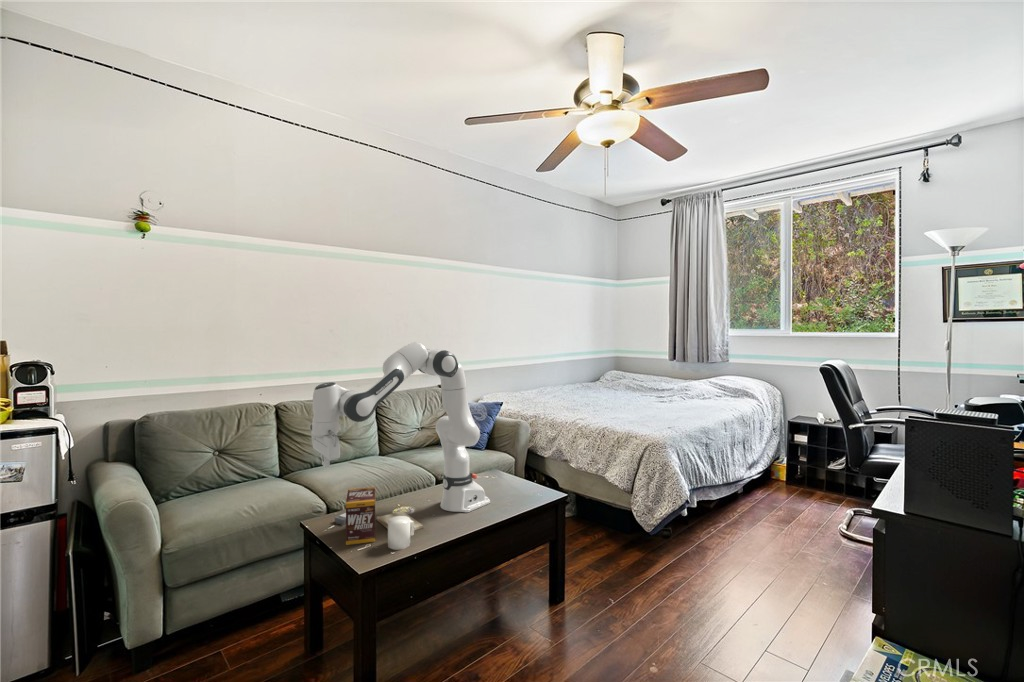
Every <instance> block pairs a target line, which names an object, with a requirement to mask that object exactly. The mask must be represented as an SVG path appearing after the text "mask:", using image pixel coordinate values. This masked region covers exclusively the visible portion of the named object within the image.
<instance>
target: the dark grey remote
mask: <svg viewBox="0 0 1024 682" xmlns="http://www.w3.org/2000/svg"><path fill="white" fill-rule="evenodd" d="M334 523H336V524H339V525H342V526H346V512H344V513H342V514H341V513H340V514H339V515H337V516H335V517H334Z"/></svg>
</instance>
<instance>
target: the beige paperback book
mask: <svg viewBox="0 0 1024 682" xmlns="http://www.w3.org/2000/svg"><path fill="white" fill-rule="evenodd" d="M395 516H407V517H409V518H410V520H412V521H414V531H417V530H420V529H423V528H424V525H423V524H422V523H420V522H419V521H417V519H415V518H413V517H412V516H410V515H409V514H408V513H406V511H403V510H400V511H396V512H392V513H389V514H385V515H380V516H378V515H377V516H376V521H377V522H378V523H380V525H382V526H384V527H385V528H386V529H387V530H388V520H389V519H390V518H392V517H395Z"/></svg>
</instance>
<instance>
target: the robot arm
mask: <svg viewBox="0 0 1024 682" xmlns="http://www.w3.org/2000/svg"><path fill="white" fill-rule="evenodd" d="M417 371H419V372H421V373H422V374H425V375H426V374H427V375H430V376H438V378H439V379H440V388H441V389H440V391H441V403H442V407H443V409H444V411H445V413H446V415H443V416H442V417H440V418H439V419H438V420H437V421H436V423H435V432H436V434H437V436H438V437H439V441H440V444H441V447H442V453H443V460H444V461H443V463H444V464H443V466H444V467H443V468H444V469H443V475H442V486H443V490H442V497H441V502H440V504H439V507H440V508H441V510H444V511H448V512H453V513H455V512H457V513H458V512H460V513H461V512H462V513H470V512H472V511H475V510H477V509H479V508H481V507H484V506H486V505H489V504H490V503H491V500H490V498H489V497H488V496H487V495H486V492H485V490H484V488H483V487H482V486H481V485H480V484H479V483H477V482H476V481H474V480H476V479H477V478H478V475H477V474H476V473H472V472H470V454H469V452H468V451H467V449H466V447H472V446H475V445H476V444H477V443H478V442H479V440H480V436H481V430H480V428H479V427H478V425H477V423H476V422H475V420H474V418H473V415H472V413H471V410H470V406H469V398H468V389H467V387H468V385H467V379H466V373H465V369H464V366H463V364H461V363H459V362H458V360H457V358H456V356H455V355H454V353H452V352H451V351H448V350H443V349H438V348H434V349H433V348H432V349H431V348H426V346H425V345H424V344H423V343H421V342H417V341H412V342H411V343H408V344H407V345H404V346H402V347H401V348H398V350H397V351H395V352H393V353H392V354H390V355H389V356H388V357H387V358H386V359H385V360H384V362H383V363H382V373H383V376H382V377H381V378H380V379H379V380H378V381H377V382H376V383H375V384H373V386H371V387H370V388H369V389H368V390H366V391H362V392H359V391H356V390H352V389H348V388H346V387H343V386H340V385H338V383H336V382H330V381H329V382H324V383H321V384H319V385H316V386H315V388H314V389H313V394H312V404H311V405H312V407H311V408H312V412H313V417H312V423H310V424H309V430H310V431H311V433H310V434H311V444H312V448H313V450H315V451H317V452H318V453H319V454H320V458H321V465H322V466H323V467H324V468H330V465H331V463H330V462H331V461H333V460H339V459H340V456H341V447H340V446H341V444H340V438H339V436H337V434H338V433H339V432H340V431H339V430H340V427H339V425H340V423H339V422H340V420H339V419H340V417H342V416H344V417H347V418H348V419H349V420H351V421H353V422H357V423H359V422H360V423H361V422H366V421H367V420H368V419H370V418H371V416H372V415H373V414H374V412H375V411H376V409H377V407H378V406H379V405H380V404H382V402H383V401H384V400H385V399H387V397H388V396H390V395H391V394H393V392H394V391H395V390H396V389H397V388H398V387H399V386H400V385H401V384H402V383H403V382H404V381H405V380H406V379H408V378H409V377H410V376H411V375H413V374H415V372H417ZM473 479H474V480H473Z"/></svg>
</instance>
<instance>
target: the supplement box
mask: <svg viewBox="0 0 1024 682" xmlns="http://www.w3.org/2000/svg"><path fill="white" fill-rule="evenodd" d="M345 501H346V502H345V513H346V524H345V545H346V546H348V545H357V544H358V545H359V544H367V543H374V542H376V487H374V486H373V487H362V488H361V487H360V488H359V487H358V488H348V489H347V494H346V500H345Z"/></svg>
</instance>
